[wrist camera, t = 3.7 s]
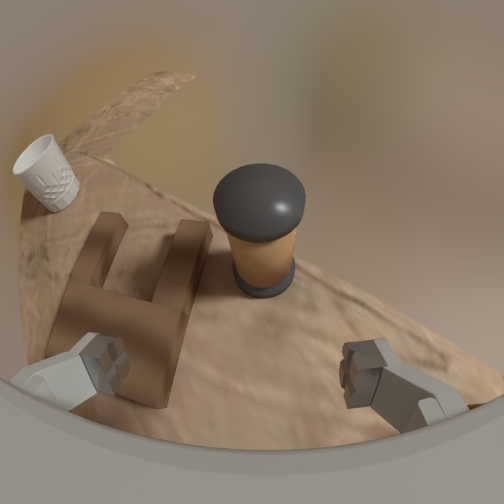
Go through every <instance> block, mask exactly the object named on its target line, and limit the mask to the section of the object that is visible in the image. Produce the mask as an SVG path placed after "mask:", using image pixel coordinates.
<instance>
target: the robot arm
mask: <svg viewBox="0 0 504 504" xmlns="http://www.w3.org/2000/svg"><path fill="white" fill-rule="evenodd" d="M124 347H125V345H124V342H123V339H122V338H120V337H117V336H111V335H105V334H99V333H93V332H89V333H87V334H86V335H85V336H84V337H83V338H82V339H81V340H80V341H79V342H78V343H77V344H76V345H75V346H74V347H73V348H72V349H71V350H70V351H69V352H63V353H61V354H58V355H55V356H53V357H50V358H47V359H45V360H42V361H40V362H37V363H34V364H32V365H29V366H26V367H24V368H22V369H21V370H20V371H19V372H18V373H17V374H16V375H15V376H14V377H13V378H12V379H11V380H10V381H9V382H6V381H4V380H3V379H1V378H0V504H504V394H503V395H501V396H499V397H497V398H495V399H493V400H491V401H489V402H487V403H485V404H483V405H481V406H479V407H477V408H474V409H472V410H470V409H469V408H468V406H467V405H466V403H465V402H464V400H463V399H462V397H461V396H460V394H459V393H458V391H457V390H456V389H455V388H453V387H451V386H449V385H447V384H445V383H443V382H441V381H439V380H437V379H435V378H433V377H431V376H429V375H427V374H425V373H423V372H421V371H419V370H417V369H415V368H413V367H411V366H409V365H407V364H401V362H400V361H399V359H398V357H397V356H396V354H395V352H394V351H393V349H392V348H391V346H390V344H389V343H388V341H387V339H385V338H379V339H372V340H367V341H358V342H348V343H344V345H343V350H342V354H343V357H344V359H343V360H342V361H341V362H340V368H339V379H340V384H341V387H342V388H344V389H345V392H344V399H345V402H346V406H347V409H351V408H360V407H367V406H371V408H372V409H373V410H374V411H375V412H377V413H378V414H379V415H380V416H381V417H382V418H384V419H385V420H386V421H387V422H388V423H390V424H391V425H392V426H393V427H394V428H395V429H397V430H398V431H399V432H400V433H401V434H398V435H394V436H389V437H385V438H380V439H376V440H370V441H365V442H359V443H353V444H347V445H339V446H331V447H322V448H310V449H294V450H243V449H227V448H215V447H206V446H197V445H190V444H183V443H177V442H171V441H166V440H161V439H156V438H151V437H147V436H142V435H138V434H134V433H130V432H126V431H123V430H119V429H116V428H112V427H109V426H106V425H103V424H100V423H97V422H94V421H91V420H88V419H85V418H82V417H80V416H77V415H74V414H72V413H69V412H68V411H70V410H71V409H73V408H74V407H76V406H78V405H79V404H81V403H82V402H84V401H85V400H87V399H88V398H90V397H91V396H93V395H95V394H96V393H97V392H100V393H104V394H109V395H113V396H115V394H116V393H117V391H118V389H119V388H120V386H121V380H123V379H124V378H126V377H127V375H128V374H129V370H130V360H129V357H128V355H127V354H126V353H125V352H124V351H123V350H124Z"/></svg>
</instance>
